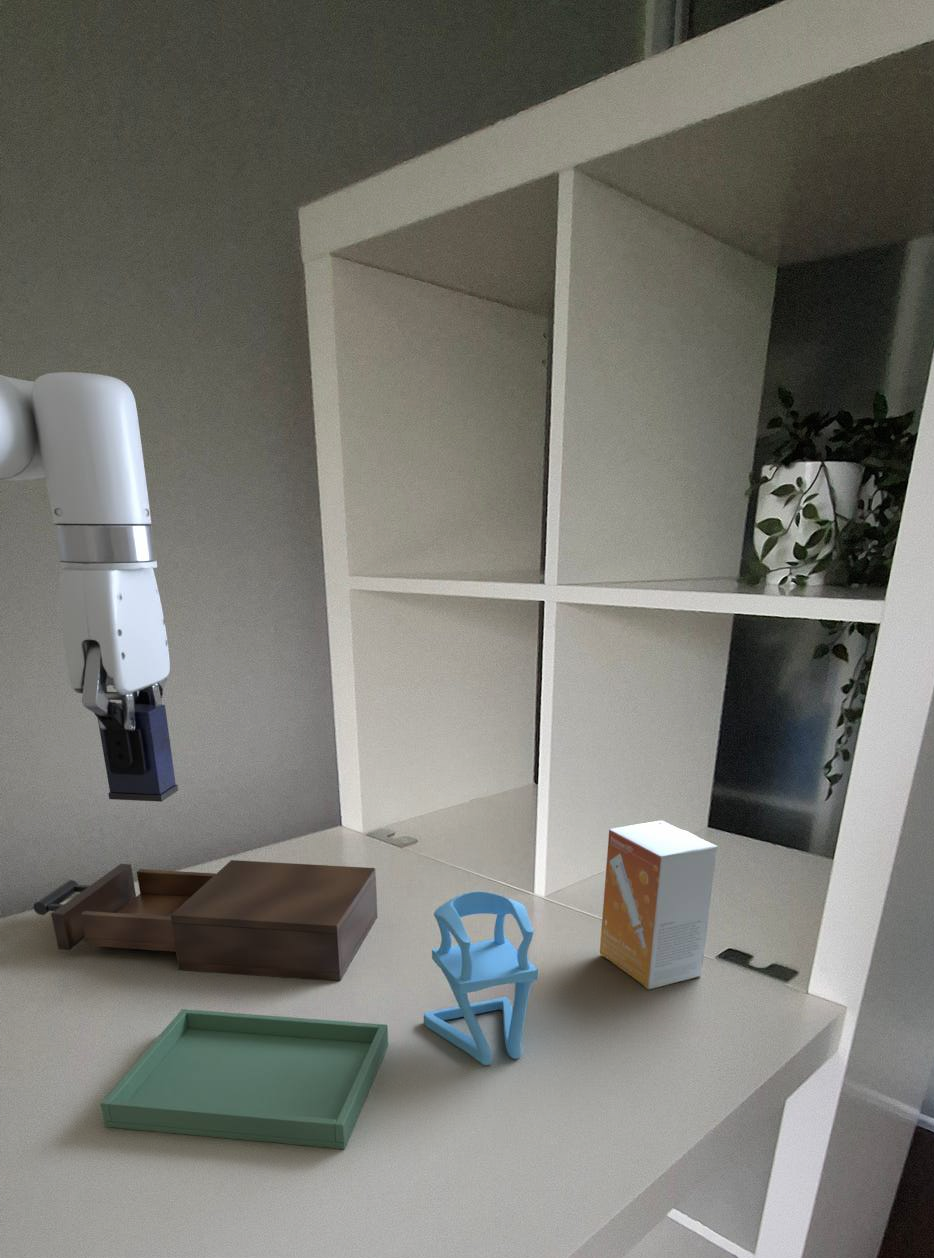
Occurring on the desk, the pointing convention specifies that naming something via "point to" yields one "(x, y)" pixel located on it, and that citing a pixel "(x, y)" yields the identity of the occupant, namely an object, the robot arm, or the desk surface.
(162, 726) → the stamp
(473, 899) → the chair
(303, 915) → the cabinet
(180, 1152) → the desk surface
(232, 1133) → the tray
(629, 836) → the small box
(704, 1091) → the desk surface
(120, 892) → the drawer
